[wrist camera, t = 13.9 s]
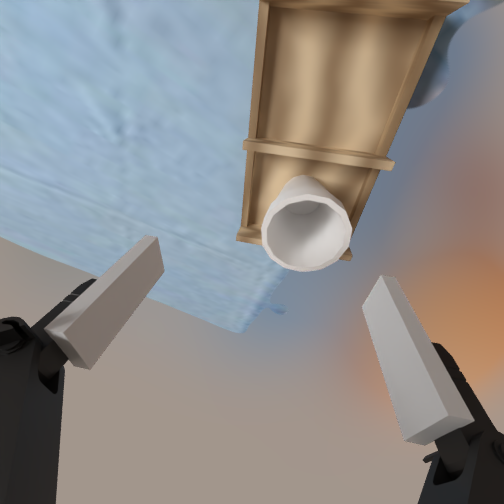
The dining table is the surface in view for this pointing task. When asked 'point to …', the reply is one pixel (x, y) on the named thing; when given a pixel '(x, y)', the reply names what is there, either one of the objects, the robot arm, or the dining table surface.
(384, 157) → the rack
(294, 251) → the foam cup
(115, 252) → the dining table surface
